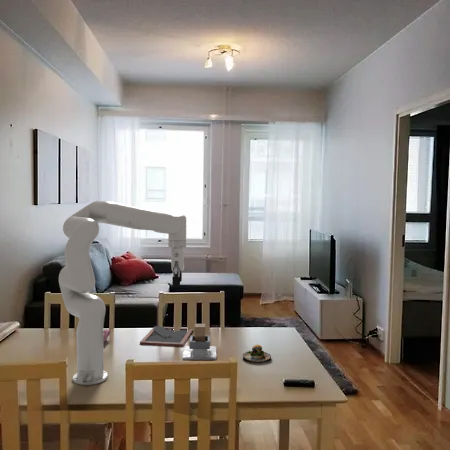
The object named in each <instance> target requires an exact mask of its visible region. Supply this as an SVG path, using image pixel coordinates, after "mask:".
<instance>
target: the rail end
mask: <svg viewBox="0 0 450 450" xmlns="http://www.w3.org/2000/svg"><path fill="white" fill-rule="evenodd" d="M194 335H195V341H205V335H206V323H195V324H194Z"/></svg>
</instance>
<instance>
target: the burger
mask: <svg viewBox="0 0 450 450" xmlns="http://www.w3.org/2000/svg"><path fill="white" fill-rule="evenodd" d="M271 359H272V355H271V354H270V353H268V352H266V351H264V350H263V347H262V345H260V344H254V345H253V346H252V348H251V350H248V351H246V352H244V353H243V354H242V361H244V360H247V361H250V362H255V363H256V362H257V363H258V362H259V363H261V362H265V361H267V360H269V362H270V361H272V360H271Z"/></svg>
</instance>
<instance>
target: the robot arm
mask: <svg viewBox="0 0 450 450" xmlns="http://www.w3.org/2000/svg"><path fill="white" fill-rule="evenodd" d="M99 224H105V225H106V224H107V225H112V226H116V227H117V226H118V227H122V228H129V229H133V230H140V231H142V230H143V231H145V230H146V231H153V232H155V233H157V234H158V233H160V234H166V235H167V234H168V240H167V241H168V247H167V248H169V249H170V257H171V259H170V260H171V262H170V263H171V264H170V265H171V267H170V268H171V271H172V283H171V284H172V287H181V282H182V280H183V279H182V276H183V273H182V272H183V271H184V270H185V248H187V217H186V215H185V214H169V213H164V212H159V211H153V210H149V209H147V208H142V207H137V206H132V205H128V204H123V203H119V202H114V201H110V200H95V201H93V202H91V203H88V204H87V205H86V206H84V207H82V208H80V209H79V210H78V211H77V212H75V213H73V214H72V215H70V216H69V217H67V219H65V221H64V222H63V225H62V231H63V235H65V237H67V238H68V240H67V242H66V243H65V248H64V261H65V264H66V265H65V266H64V267H62V268H61V269H60V271H59V274H58V284H59V288H60V289H59V290H60V293H61V296H62V301H63V303H64V307H65V309H66V311H67V312H68V313H69V314H70V315H72V316H74V317H76V318H78V323H77V326H76V337H75V338H76V373H75V374H73V376H72V381H73V383H75V384H77V385H80V386H93V385H97V384H100V383H104V381H106V380H107V379H108V377H109V373H108V372H107V371H105V370H104V366H105V365H104V343H103V331H104V323H105V316H106V303H105V302H104V300H103V299H102V298H101V297H100V296H98V295H95V294H92V293H90V292H91V291H93V290H94V289H95V286H96V278H95V277H96V275H95V272H94V269H93V264H92V261H91V257H90V249H91V247H92V245H93V242H94V241H95V240H96V239H97V237H98V236H99V232H100V226H99Z"/></svg>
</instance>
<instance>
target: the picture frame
mask: <svg viewBox="0 0 450 450" xmlns="http://www.w3.org/2000/svg"><path fill="white" fill-rule="evenodd" d="M174 328H175V327H174V326H173V327H172V326H156V325H155V326H154V327H153V328H152V329H151V330H150V331H148V333H147V334H146V335H145V336H144V337H143V338H142V339H141V340H140V341H139V345H141V346H158V347H159V346H161V347H163V346H165V347H179V348H180V347H181V348H184V347H185V346H186V345H185V344H186V343H187V341H188V340H189V339H190V337H189V336H191V335H192V334H193V332H192V330H193V328H192V327H191V328H192V329H190V330H189V331H188V332H187V328H188V327H178V328H176V329H180V331H175V332H174V330H173V329H174ZM191 333H192V334H191Z"/></svg>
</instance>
